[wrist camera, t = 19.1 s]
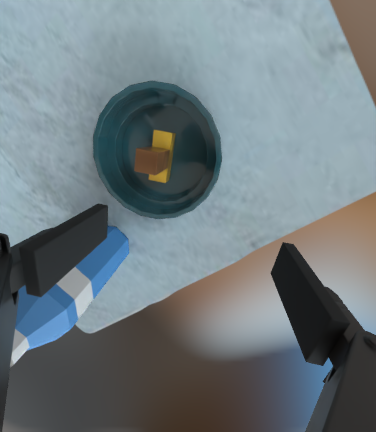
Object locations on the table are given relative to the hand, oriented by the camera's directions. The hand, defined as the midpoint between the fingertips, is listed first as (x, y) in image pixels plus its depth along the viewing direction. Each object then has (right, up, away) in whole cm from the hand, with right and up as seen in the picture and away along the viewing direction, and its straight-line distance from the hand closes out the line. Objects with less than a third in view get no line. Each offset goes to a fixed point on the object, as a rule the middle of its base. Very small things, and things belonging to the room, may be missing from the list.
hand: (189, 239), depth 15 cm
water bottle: (-17, -4, +30) cm, 35 cm away
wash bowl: (-4, +13, +21) cm, 25 cm away
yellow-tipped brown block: (-4, +12, +21) cm, 24 cm away
